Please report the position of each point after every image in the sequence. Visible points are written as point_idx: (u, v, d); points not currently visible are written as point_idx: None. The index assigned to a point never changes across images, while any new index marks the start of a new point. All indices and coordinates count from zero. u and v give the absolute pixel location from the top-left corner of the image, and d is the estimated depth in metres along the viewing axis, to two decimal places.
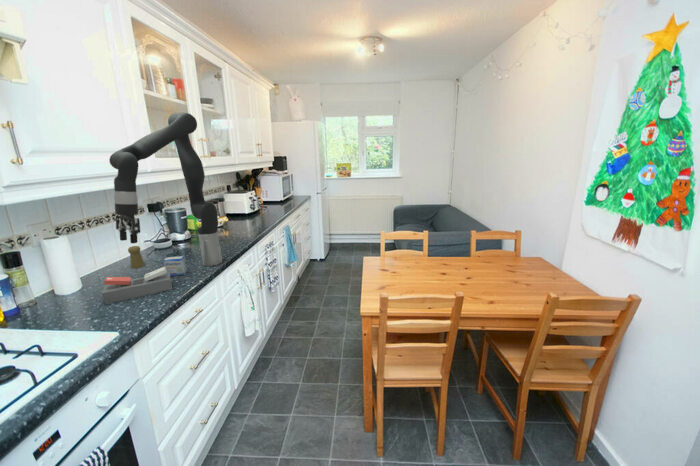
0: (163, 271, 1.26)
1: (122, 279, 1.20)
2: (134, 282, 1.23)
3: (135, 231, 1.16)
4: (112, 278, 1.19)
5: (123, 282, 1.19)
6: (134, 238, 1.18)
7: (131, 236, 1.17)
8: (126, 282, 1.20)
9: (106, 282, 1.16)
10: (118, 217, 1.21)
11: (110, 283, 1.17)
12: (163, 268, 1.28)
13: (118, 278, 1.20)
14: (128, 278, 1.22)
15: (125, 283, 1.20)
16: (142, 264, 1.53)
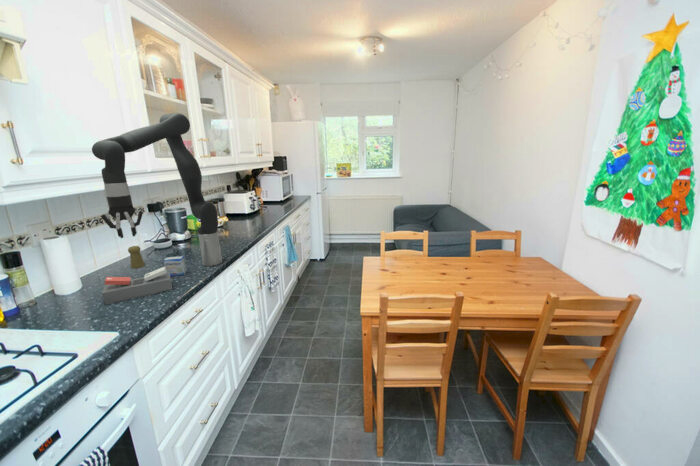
0: (163, 271, 1.26)
1: (122, 279, 1.20)
2: (134, 282, 1.23)
3: (139, 223, 1.19)
4: (112, 278, 1.19)
5: (123, 282, 1.19)
6: (135, 230, 1.19)
7: (133, 229, 1.18)
8: (126, 282, 1.20)
9: (106, 282, 1.16)
10: (105, 215, 1.12)
11: (110, 283, 1.17)
12: (163, 268, 1.28)
13: (118, 278, 1.20)
14: (128, 278, 1.22)
15: (125, 283, 1.20)
16: (142, 264, 1.53)
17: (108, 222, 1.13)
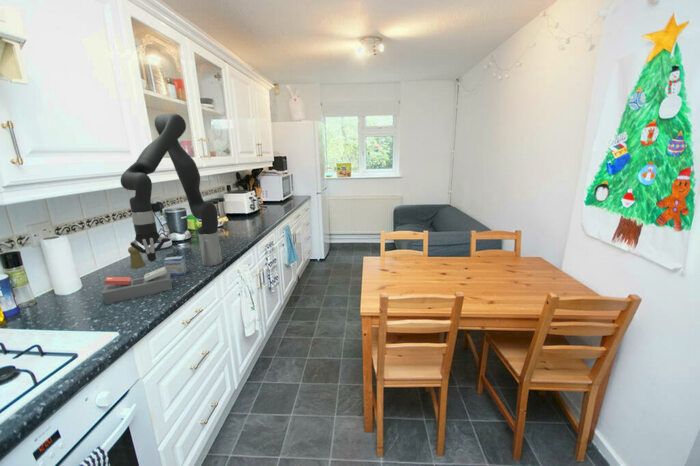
0: (163, 271, 1.26)
1: (122, 279, 1.20)
2: (134, 282, 1.23)
3: None
4: (112, 278, 1.19)
5: (123, 282, 1.19)
6: (155, 255, 1.25)
7: (153, 254, 1.24)
8: (126, 282, 1.20)
9: (106, 282, 1.16)
10: (133, 243, 1.19)
11: (110, 283, 1.17)
12: (163, 268, 1.28)
13: (118, 278, 1.20)
14: (128, 278, 1.22)
15: (125, 283, 1.20)
16: (142, 264, 1.53)
17: (138, 248, 1.20)
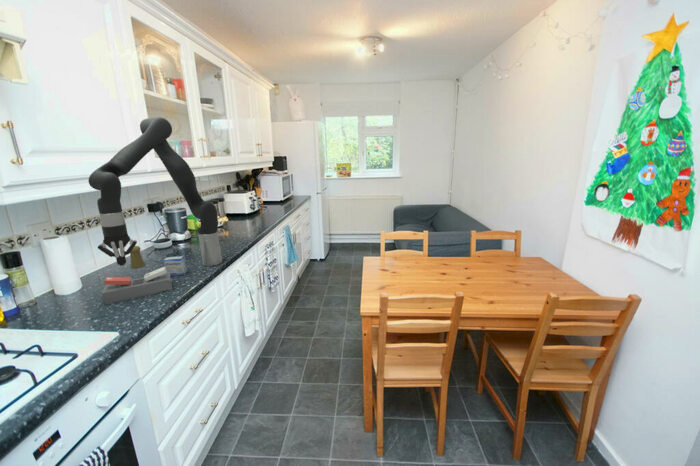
0: (163, 271, 1.26)
1: (122, 279, 1.20)
2: (134, 282, 1.23)
3: (129, 252, 1.19)
4: (112, 278, 1.19)
5: (123, 282, 1.19)
6: (125, 259, 1.19)
7: (122, 258, 1.18)
8: (126, 282, 1.20)
9: (106, 282, 1.16)
10: (101, 246, 1.13)
11: (110, 283, 1.17)
12: (163, 268, 1.28)
13: (118, 278, 1.20)
14: (128, 278, 1.22)
15: (125, 283, 1.20)
16: (142, 264, 1.53)
17: (106, 251, 1.14)
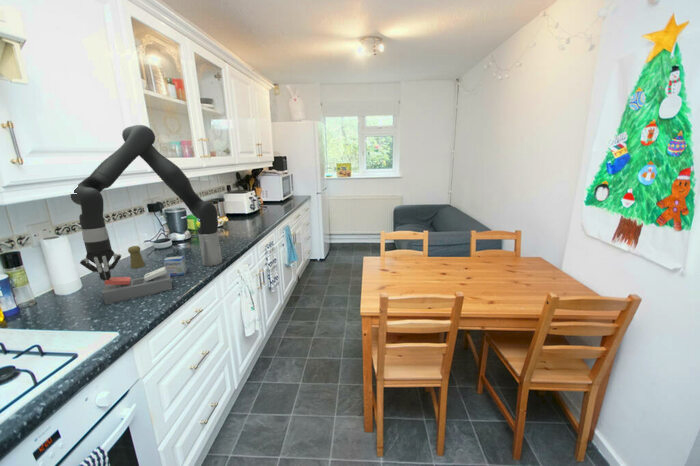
0: (163, 271, 1.26)
1: (122, 279, 1.20)
2: (134, 282, 1.23)
3: None
4: (112, 278, 1.19)
5: (123, 282, 1.19)
6: (110, 274, 1.18)
7: (107, 273, 1.17)
8: (126, 282, 1.20)
9: (106, 282, 1.16)
10: (84, 261, 1.12)
11: (110, 283, 1.17)
12: (163, 268, 1.28)
13: (118, 278, 1.20)
14: (128, 278, 1.22)
15: (125, 283, 1.20)
16: (142, 264, 1.53)
17: (89, 267, 1.13)
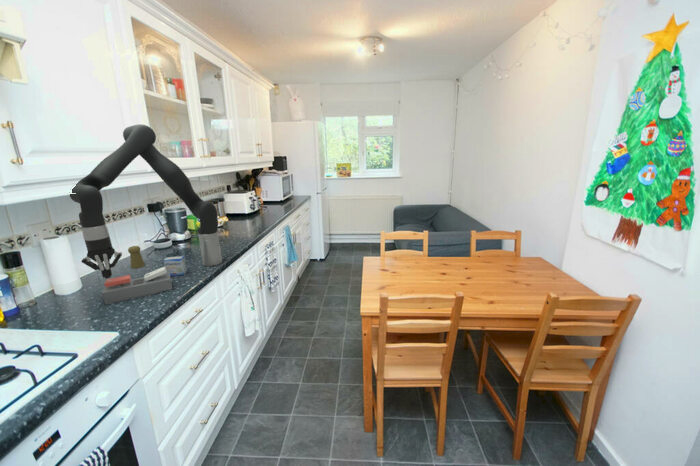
0: (163, 271, 1.26)
1: (122, 278, 1.20)
2: (134, 282, 1.23)
3: (114, 265, 1.18)
4: (111, 279, 1.19)
5: (123, 281, 1.19)
6: (111, 272, 1.18)
7: (108, 271, 1.17)
8: (126, 280, 1.19)
9: (106, 284, 1.16)
10: (85, 259, 1.12)
11: (110, 284, 1.17)
12: (163, 268, 1.28)
13: (117, 278, 1.20)
14: (127, 276, 1.22)
15: (125, 281, 1.19)
16: (142, 264, 1.53)
17: (91, 265, 1.13)
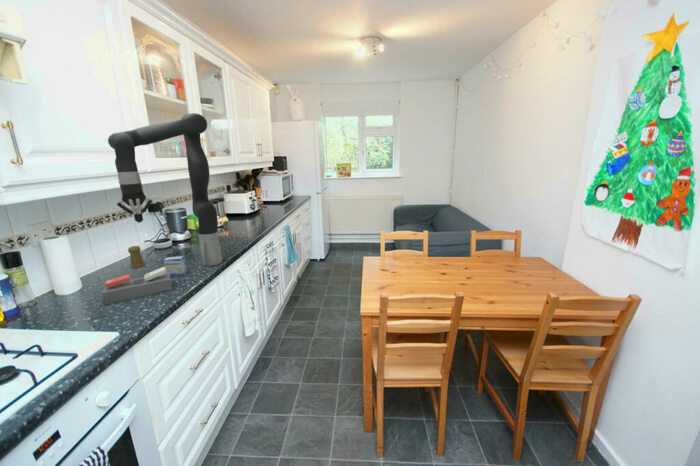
0: (163, 271, 1.26)
1: (121, 278, 1.20)
2: (134, 282, 1.23)
3: (145, 210, 1.28)
4: (111, 280, 1.19)
5: (123, 280, 1.19)
6: (142, 217, 1.28)
7: (140, 215, 1.27)
8: (125, 279, 1.19)
9: (106, 285, 1.16)
10: (120, 203, 1.22)
11: (111, 284, 1.17)
12: (163, 268, 1.28)
13: (117, 278, 1.20)
14: (127, 275, 1.22)
15: (125, 281, 1.19)
16: (142, 264, 1.53)
17: (125, 208, 1.23)
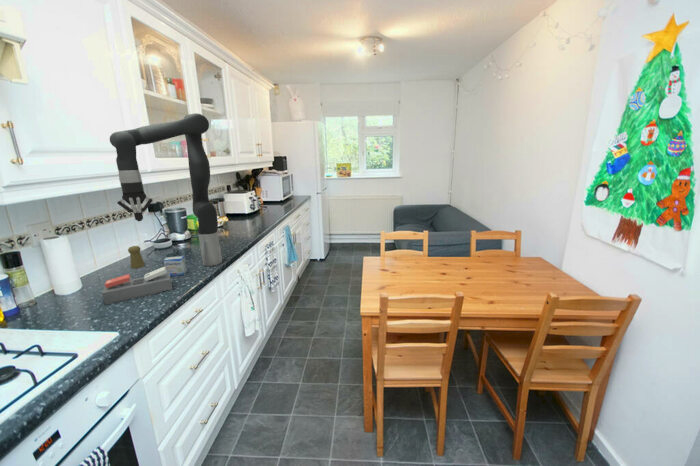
0: (163, 271, 1.26)
1: (121, 278, 1.20)
2: (134, 282, 1.23)
3: (145, 209, 1.28)
4: (111, 280, 1.19)
5: (123, 280, 1.19)
6: (142, 215, 1.28)
7: (140, 214, 1.27)
8: (125, 279, 1.19)
9: (106, 285, 1.16)
10: (120, 201, 1.23)
11: (111, 284, 1.17)
12: (163, 268, 1.28)
13: (117, 278, 1.20)
14: (127, 275, 1.22)
15: (125, 281, 1.19)
16: (142, 264, 1.53)
17: (125, 207, 1.23)
